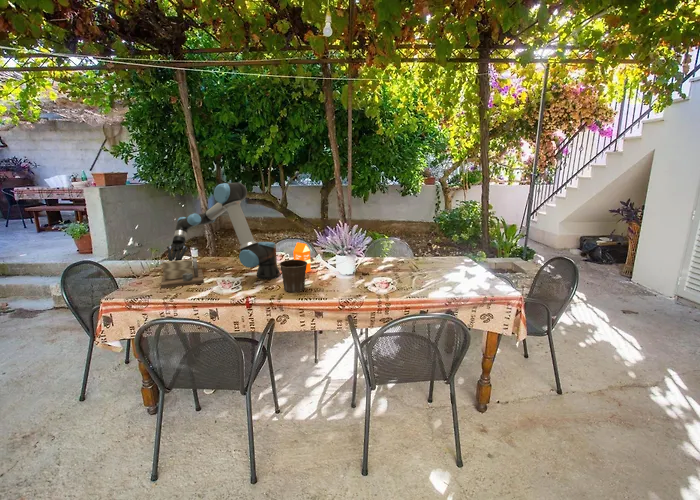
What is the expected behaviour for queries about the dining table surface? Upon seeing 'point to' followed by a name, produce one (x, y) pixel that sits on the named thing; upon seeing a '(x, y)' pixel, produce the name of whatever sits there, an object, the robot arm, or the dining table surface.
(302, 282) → the plant pot
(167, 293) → the dining table surface
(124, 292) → the dining table surface
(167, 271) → the leg panel
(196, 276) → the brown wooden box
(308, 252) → the orange juice
